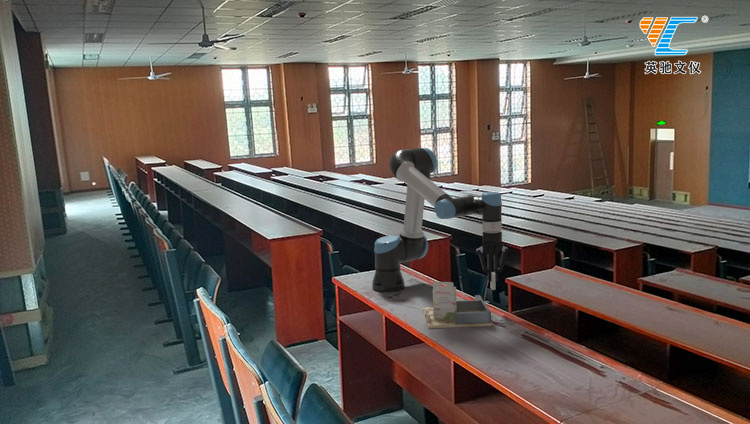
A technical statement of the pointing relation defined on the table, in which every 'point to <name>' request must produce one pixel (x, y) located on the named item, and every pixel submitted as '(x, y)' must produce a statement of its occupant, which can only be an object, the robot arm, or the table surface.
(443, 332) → the table surface
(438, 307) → the ink box
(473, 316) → the housing
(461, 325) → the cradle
